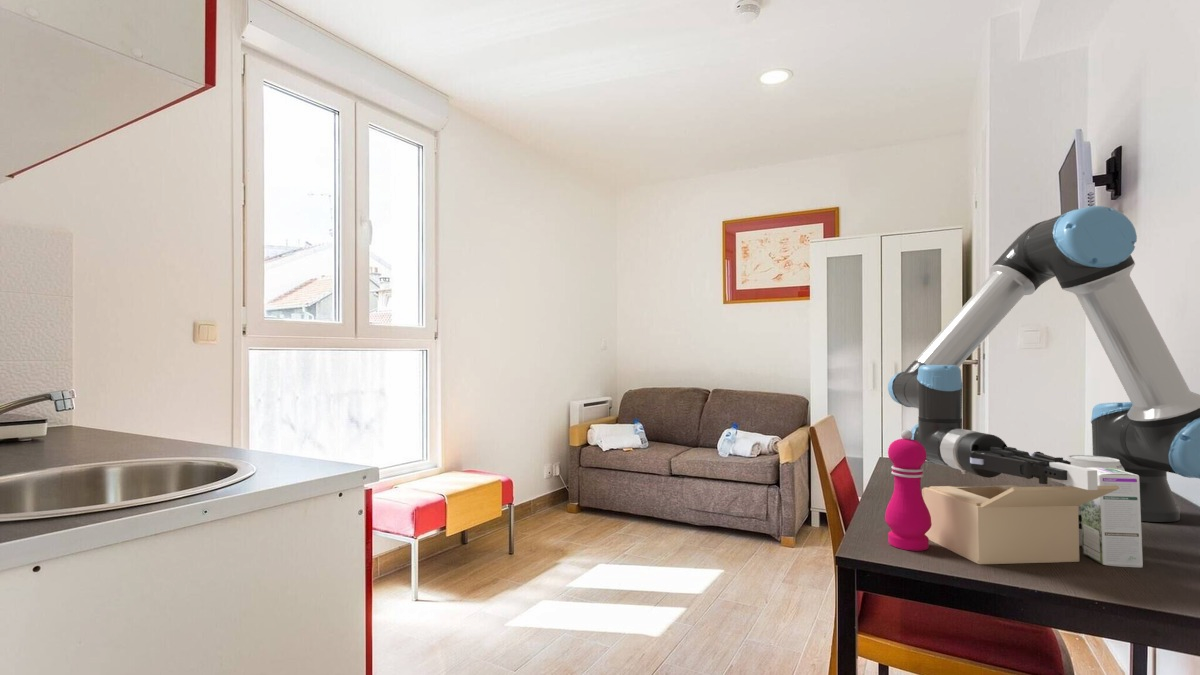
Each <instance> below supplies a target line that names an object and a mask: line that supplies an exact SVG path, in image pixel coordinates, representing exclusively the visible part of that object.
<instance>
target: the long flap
mask: <svg viewBox="0 0 1200 675" xmlns="http://www.w3.org/2000/svg"><path fill="white" fill-rule="evenodd" d="M1118 489H1119V487H1118V485H1112V486H1098V490H1086V489H1082V488H1078V487H1074V486H1065V485H1064V486H1061V485H1060V486H1058V485H1056V486H1054V485H1053V486H1018V487H1012V488H1010V489H1008V490H1006V491H1005V492H1003V493H1001V494H999V495H997V496H995V497H993V498H991V499H990V500H988V501H986V502H984V503H982V504H980V505H981V507H982V508H985V507H1036V506H1080V505H1083V504H1085V503H1087V502H1090V501H1092V500H1094V499H1097V498H1099V497H1101V496H1104V495H1106V494H1108V493H1111V492H1113V491H1115V490H1118Z"/></svg>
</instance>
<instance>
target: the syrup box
mask: <svg viewBox="0 0 1200 675" xmlns="http://www.w3.org/2000/svg"><path fill="white" fill-rule="evenodd" d="M1088 469H1093V470H1097V482H1098V486H1112V485H1118V487H1119V489H1118V490H1115V491H1113V492H1111V493H1108V494H1106V495H1104V496H1101V497H1099V498H1097V499H1094V500H1092V501H1090V502H1087V503H1085V504H1083V505H1081V517H1082V543H1083V547H1082V554H1083V555H1085V556H1087V557H1089V558H1090V559H1092V560H1094V561H1095V562H1097V563H1099V564H1100V565H1104V566H1110V567H1122V568H1140V569H1141V568H1143V565H1144V564H1143V562H1144V561H1143V560H1144V559H1143V542H1142V541H1143V536H1142V535H1143V534H1142V533H1143V532H1142V521H1141V510H1140V484H1139V475H1136V474H1132V473H1129V472H1125V471H1122V470H1118V469H1114V468H1102V467H1091V468H1088Z"/></svg>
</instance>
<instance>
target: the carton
mask: <svg viewBox="0 0 1200 675" xmlns="http://www.w3.org/2000/svg"><path fill="white" fill-rule="evenodd" d="M1012 487H1019V485H1014V484H1003V485H1002V484H1000V485H999V484H997V485H992V486H989V485H987V486H952V485H946V486H945V485H941V486H940V485H937V486H935V485H934V486H933V485H931V486H929V487H927V486H926V487H923V488H921V493H922V497H923V499H924V502H925V504H926V506H927V508H928V510H929V513H930V516H931V523H932V525H931V528H930V529H929V530H928V531H927V532H926V533H925V535H926V536H927V537H928V538H929V541H931V542H933V543H934V544H936V545H938V546H940V547H942V548H945V549H947V550H949V551H951V552H953V553H955V554H957V555H959V556H961V557H963V558H965V559H967V560H969V561H971V562H973V563H976V564H977V565H999V564H1001V565H1002V564H1003V565H1004V564H1007V565H1009V564H1038V563H1039V564H1041V563H1043V564H1044V563H1047V564H1048V563H1072V562H1073V563H1077V562H1080V546H1079V519H1078V506H1036V507H985V508H982V507H981V505H980V504H982V503H984V502H986V501H988V500H990V499H991V498H993V497H995V496H997V495H999V494H1001V493H1003V492H1005V491H1006V490H1008V489H1010V488H1012Z"/></svg>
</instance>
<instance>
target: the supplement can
mask: <svg viewBox="0 0 1200 675" xmlns="http://www.w3.org/2000/svg"><path fill="white" fill-rule="evenodd" d="M1067 461H1069V462H1071V465H1074V466H1079V467H1083V468H1091V467H1102V468H1114V469H1118V470H1122V471H1125V470H1124V468H1123V466H1122V465H1121V463H1120V460H1118V459H1114V458H1109V457H1102V456H1093V455H1088V454H1072V455H1068V458H1067ZM1064 486H1070V485H1066V484H1064ZM1078 519H1079V547H1082V548H1083V543H1082V517H1081V505H1080V506H1078Z"/></svg>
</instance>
